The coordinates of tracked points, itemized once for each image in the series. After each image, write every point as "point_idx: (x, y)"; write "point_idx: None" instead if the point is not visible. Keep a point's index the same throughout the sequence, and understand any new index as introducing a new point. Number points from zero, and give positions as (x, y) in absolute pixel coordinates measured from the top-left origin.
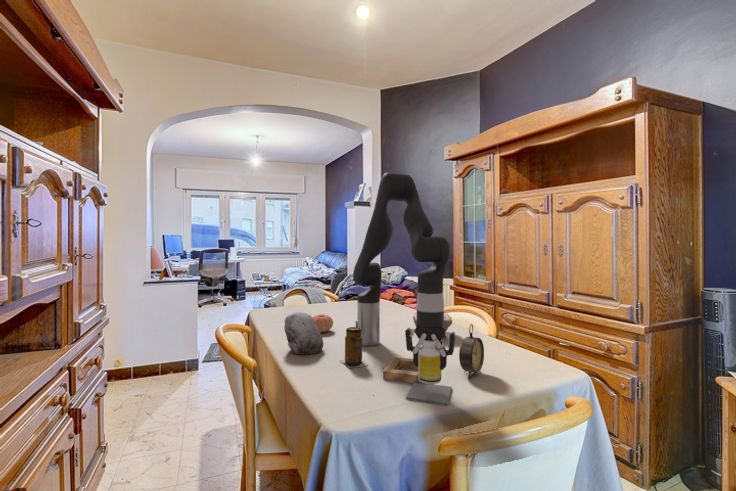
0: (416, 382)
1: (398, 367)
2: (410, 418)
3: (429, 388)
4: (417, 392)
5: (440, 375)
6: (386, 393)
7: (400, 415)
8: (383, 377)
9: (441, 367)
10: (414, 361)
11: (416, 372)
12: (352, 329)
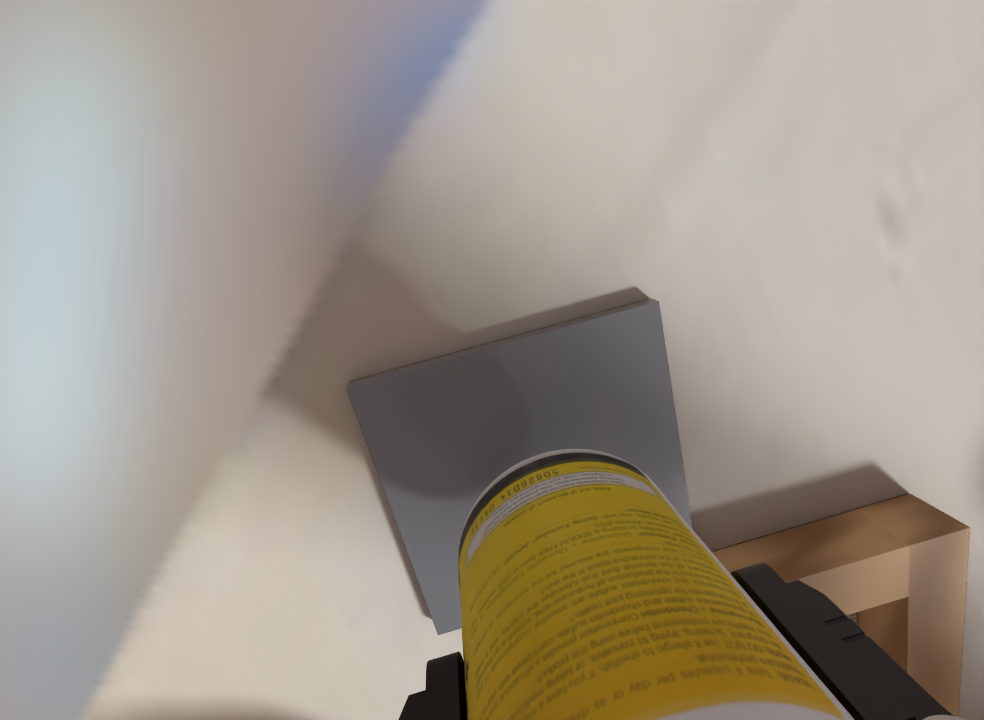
0: None
1: None
2: (490, 5)
3: None
4: (612, 420)
5: (460, 596)
6: (812, 302)
7: (581, 8)
8: (916, 499)
9: (448, 676)
10: (819, 610)
11: None
12: None
